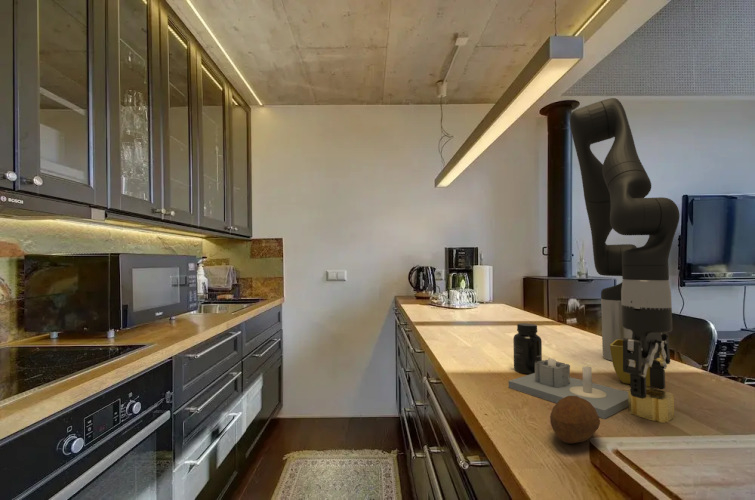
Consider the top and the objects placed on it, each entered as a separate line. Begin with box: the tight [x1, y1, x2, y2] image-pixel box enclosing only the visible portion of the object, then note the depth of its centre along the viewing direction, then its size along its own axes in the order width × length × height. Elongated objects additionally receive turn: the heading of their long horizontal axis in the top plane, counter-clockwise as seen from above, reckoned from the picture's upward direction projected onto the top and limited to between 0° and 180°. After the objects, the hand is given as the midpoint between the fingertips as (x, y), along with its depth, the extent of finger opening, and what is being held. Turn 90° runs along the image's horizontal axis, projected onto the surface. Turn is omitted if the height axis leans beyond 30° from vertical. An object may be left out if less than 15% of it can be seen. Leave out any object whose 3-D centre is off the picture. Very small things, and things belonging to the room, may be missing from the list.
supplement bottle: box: [512, 322, 543, 375], centre depth 94 cm, size 7×7×12 cm
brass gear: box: [627, 387, 675, 424], centre depth 67 cm, size 6×6×4 cm
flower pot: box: [610, 339, 652, 388], centre depth 84 cm, size 9×9×9 cm
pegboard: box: [507, 358, 629, 420], centre depth 77 cm, size 14×20×6 cm
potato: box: [549, 396, 601, 445], centre depth 57 cm, size 7×12×7 cm, turn 145°
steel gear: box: [535, 359, 571, 388], centre depth 80 cm, size 6×6×4 cm
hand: (648, 392), depth 67 cm, fingers open, 8 cm apart
